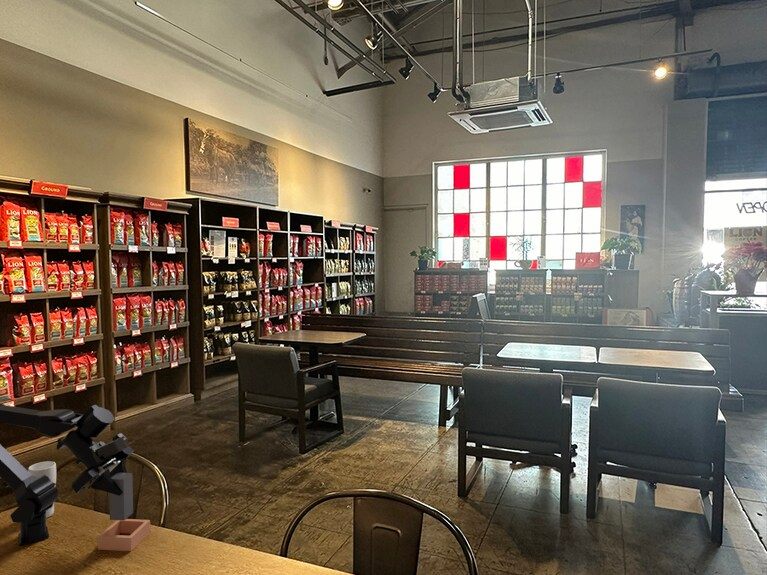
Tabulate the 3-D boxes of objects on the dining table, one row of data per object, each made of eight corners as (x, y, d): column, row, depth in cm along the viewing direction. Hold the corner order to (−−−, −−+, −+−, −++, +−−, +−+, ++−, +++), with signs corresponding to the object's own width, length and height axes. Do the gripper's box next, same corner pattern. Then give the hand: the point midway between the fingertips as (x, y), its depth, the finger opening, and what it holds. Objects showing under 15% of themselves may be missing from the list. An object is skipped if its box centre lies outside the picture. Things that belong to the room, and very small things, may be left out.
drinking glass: (42, 523, 140) (41, 471, 139) (22, 520, 141) (21, 469, 140) (62, 511, 146) (61, 462, 146) (43, 508, 148) (42, 460, 147)
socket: (98, 549, 127) (97, 536, 127) (119, 530, 136) (119, 518, 136) (131, 551, 126) (131, 538, 126) (150, 532, 135) (150, 520, 135)
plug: (109, 519, 129) (108, 479, 128) (119, 512, 133) (118, 472, 132) (124, 520, 129) (123, 479, 128) (133, 512, 133) (132, 473, 132)
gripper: (81, 440, 121) (125, 485, 120) (126, 417, 139) (164, 456, 139) (52, 470, 122) (95, 516, 121) (100, 443, 140) (138, 482, 140)
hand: (126, 490), depth 130 cm, fingers closed on plug, 4 cm apart
